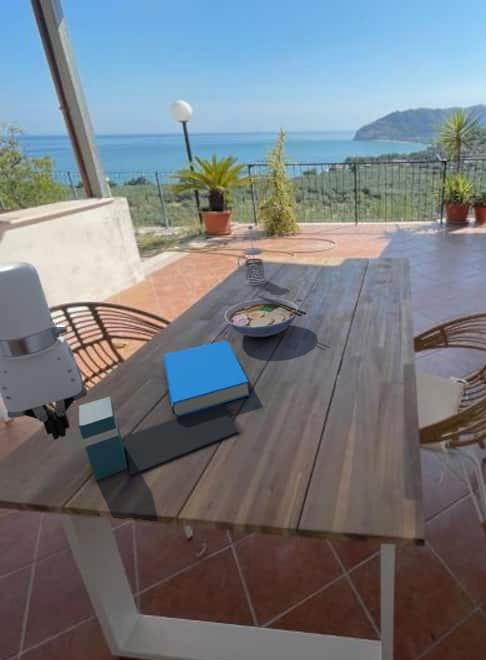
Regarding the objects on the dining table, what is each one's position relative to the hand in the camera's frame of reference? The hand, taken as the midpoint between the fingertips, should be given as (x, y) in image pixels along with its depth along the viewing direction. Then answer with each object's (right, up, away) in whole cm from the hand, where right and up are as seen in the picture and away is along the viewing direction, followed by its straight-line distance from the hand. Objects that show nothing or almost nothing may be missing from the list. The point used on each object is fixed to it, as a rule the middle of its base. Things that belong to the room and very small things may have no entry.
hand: (60, 433), depth 68 cm
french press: (+5, +28, +105) cm, 109 cm away
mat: (+15, -5, +13) cm, 21 cm away
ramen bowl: (+21, +11, +58) cm, 63 cm away
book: (+13, +1, +32) cm, 34 cm away
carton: (+5, -8, +6) cm, 11 cm away
